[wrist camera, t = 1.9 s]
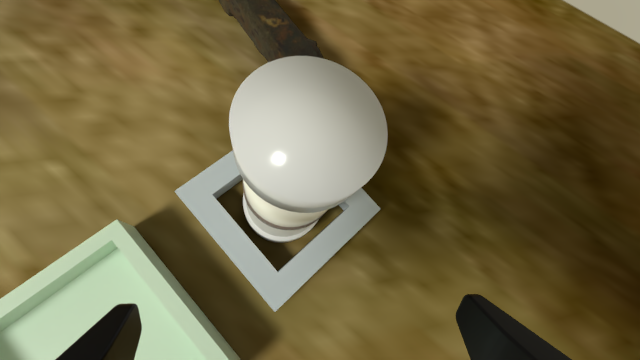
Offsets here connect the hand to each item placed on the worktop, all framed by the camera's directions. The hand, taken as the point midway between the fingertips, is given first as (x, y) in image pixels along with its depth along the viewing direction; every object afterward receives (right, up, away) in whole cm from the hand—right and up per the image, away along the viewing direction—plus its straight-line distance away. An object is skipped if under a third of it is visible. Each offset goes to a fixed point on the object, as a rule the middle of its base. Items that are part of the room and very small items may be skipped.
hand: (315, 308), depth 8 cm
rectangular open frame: (-3, +2, +13) cm, 14 cm away
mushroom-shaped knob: (-3, +2, +13) cm, 14 cm away
